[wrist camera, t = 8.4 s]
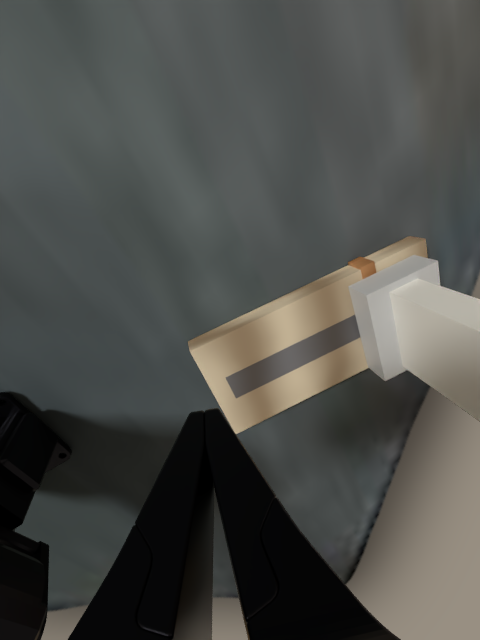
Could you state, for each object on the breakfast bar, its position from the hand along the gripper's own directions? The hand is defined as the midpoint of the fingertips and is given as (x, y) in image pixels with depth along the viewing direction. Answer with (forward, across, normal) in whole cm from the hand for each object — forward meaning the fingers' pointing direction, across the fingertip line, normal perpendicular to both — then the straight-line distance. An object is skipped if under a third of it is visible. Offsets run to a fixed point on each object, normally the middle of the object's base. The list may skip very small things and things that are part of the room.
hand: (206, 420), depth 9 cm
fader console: (+13, -8, +6) cm, 16 cm away
